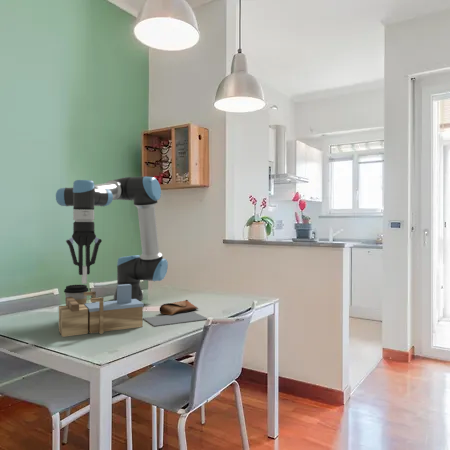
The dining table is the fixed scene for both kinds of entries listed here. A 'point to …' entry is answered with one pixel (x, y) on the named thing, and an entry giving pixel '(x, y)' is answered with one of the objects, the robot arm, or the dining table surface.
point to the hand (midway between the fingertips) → (84, 283)
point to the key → (72, 304)
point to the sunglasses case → (177, 307)
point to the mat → (174, 319)
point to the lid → (122, 300)
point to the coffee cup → (76, 293)
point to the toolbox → (97, 318)
